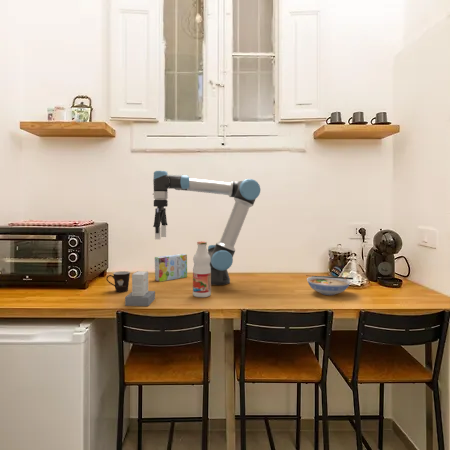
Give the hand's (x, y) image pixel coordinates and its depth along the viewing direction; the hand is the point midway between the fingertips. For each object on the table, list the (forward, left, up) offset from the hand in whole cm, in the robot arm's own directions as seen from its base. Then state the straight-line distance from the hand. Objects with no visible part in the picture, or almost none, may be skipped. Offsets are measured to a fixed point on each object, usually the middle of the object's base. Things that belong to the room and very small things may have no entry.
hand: (160, 238), depth 189 cm
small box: (+4, +26, -25) cm, 36 cm away
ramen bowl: (-91, +2, -29) cm, 95 cm away
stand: (+4, +25, -29) cm, 38 cm away
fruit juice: (-24, +10, -29) cm, 39 cm away
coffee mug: (+22, +4, -29) cm, 37 cm away
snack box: (0, -28, -29) cm, 40 cm away
